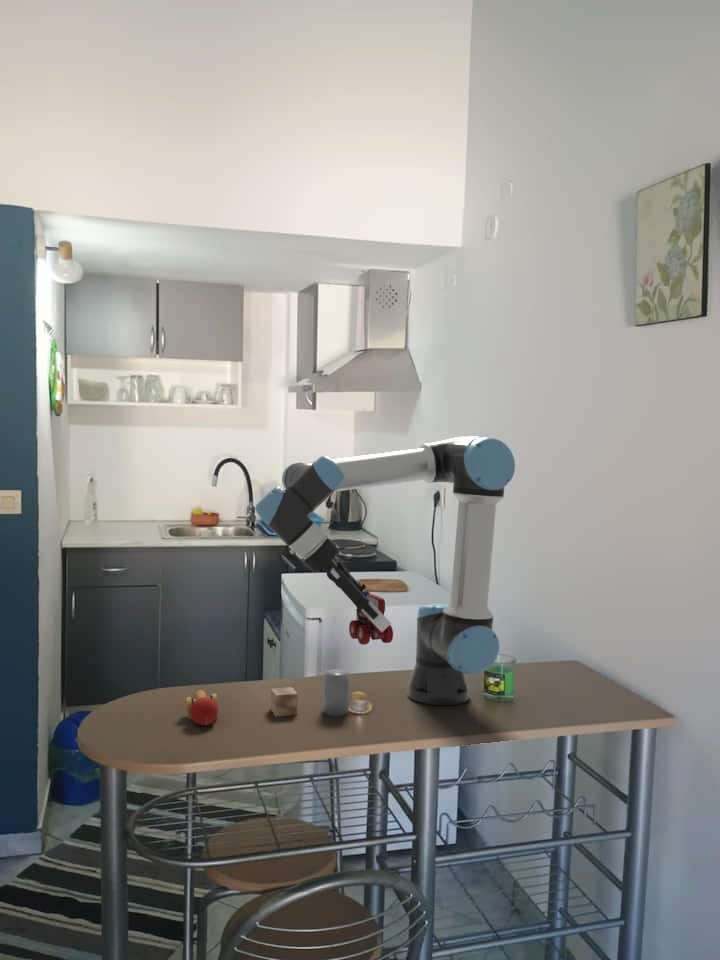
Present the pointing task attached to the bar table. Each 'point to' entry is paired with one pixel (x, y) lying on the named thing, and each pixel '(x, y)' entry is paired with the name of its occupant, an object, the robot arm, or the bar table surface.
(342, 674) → the light grey cylinder
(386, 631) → the toy fire truck
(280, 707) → the light brown cube
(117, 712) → the bar table surface
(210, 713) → the kendama
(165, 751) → the bar table surface
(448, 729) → the bar table surface
